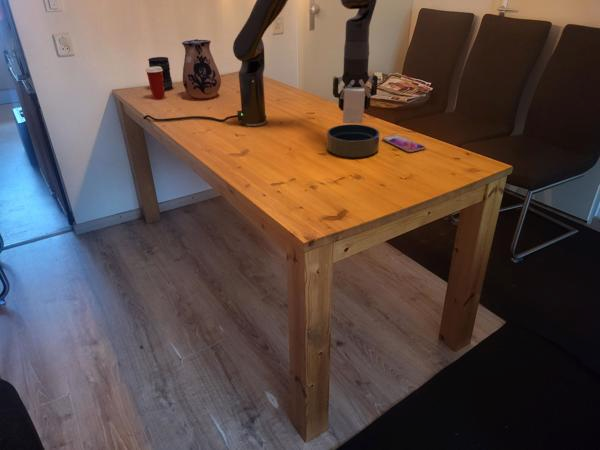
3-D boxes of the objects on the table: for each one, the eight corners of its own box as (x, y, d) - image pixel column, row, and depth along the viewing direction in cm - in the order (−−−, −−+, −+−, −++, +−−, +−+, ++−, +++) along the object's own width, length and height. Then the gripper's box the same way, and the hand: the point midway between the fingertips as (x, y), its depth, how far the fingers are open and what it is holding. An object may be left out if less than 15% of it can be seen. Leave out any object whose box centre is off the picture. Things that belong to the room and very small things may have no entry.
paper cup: (170, 97, 218) (165, 67, 211) (158, 100, 212) (153, 70, 205) (159, 95, 221) (154, 65, 214) (147, 98, 216) (141, 68, 209)
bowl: (332, 160, 144) (333, 143, 141) (322, 142, 159) (322, 126, 156) (384, 157, 146) (386, 139, 143) (370, 139, 161) (371, 122, 158)
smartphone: (397, 134, 162) (426, 147, 150) (397, 136, 162) (425, 149, 151) (381, 137, 159) (409, 150, 147) (381, 139, 159) (408, 153, 148)
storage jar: (155, 87, 236) (149, 57, 228) (174, 86, 237) (169, 56, 229) (151, 91, 227) (146, 60, 220) (171, 91, 228) (166, 60, 221)
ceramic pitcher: (189, 103, 207) (181, 45, 194) (180, 93, 224) (172, 39, 211) (226, 98, 213) (221, 42, 200) (215, 89, 230) (209, 36, 217)
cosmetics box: (363, 124, 142) (364, 90, 137) (342, 123, 143) (343, 90, 138) (364, 114, 151) (365, 82, 146) (345, 114, 152) (345, 82, 147)
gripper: (375, 52, 141) (372, 104, 150) (330, 54, 140) (329, 107, 148) (382, 56, 135) (379, 111, 143) (335, 59, 133) (334, 114, 141)
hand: (354, 109), depth 145 cm, fingers closed on cosmetics box, 7 cm apart
